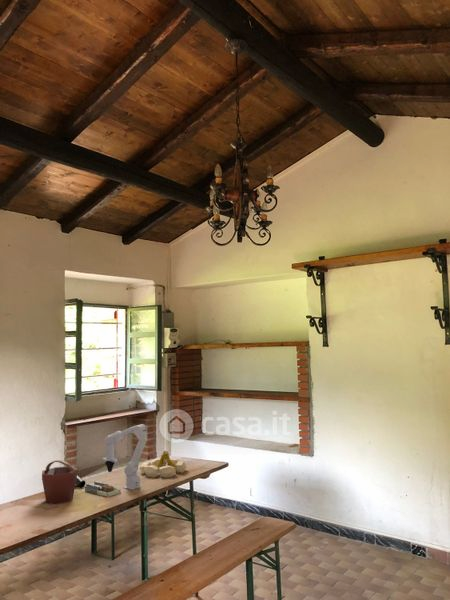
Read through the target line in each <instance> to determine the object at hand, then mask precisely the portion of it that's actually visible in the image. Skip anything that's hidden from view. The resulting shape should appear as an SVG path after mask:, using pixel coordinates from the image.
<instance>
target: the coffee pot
mask: <svg viewBox="0 0 450 600" xmlns="http://www.w3.org/2000/svg"><path fill="white" fill-rule="evenodd" d="M85 486H86V480H83V479H82V478H81V476H80V475H77V480H76V485H75V488H76V487H79V488H85Z"/></svg>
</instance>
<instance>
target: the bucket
mask: <svg viewBox="0 0 450 600" xmlns="http://www.w3.org/2000/svg"><path fill="white" fill-rule="evenodd" d="M54 463H59V464H62V465H64V466H56V467H55V466H54V467H52V468H51V466H52V465H53V464H54ZM78 474H79V469H78V468H76V467H74V466H73V465H71V464H70V463H69V462H66V461H64V460H60V459H59V460H58V459H57V460H53V461H51V462H49V463H47V465H46V467H45V470H42V472H41V481H42V485H43V493H44V498H45V503H46V504H51V505H57V504H58V505H59V504H63V503H68V502H69V501H71V500H73V499H74V494H75V489H76V487H75V485H76V480H77V476H79V475H78Z"/></svg>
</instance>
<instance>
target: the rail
mask: <svg viewBox="0 0 450 600" xmlns="http://www.w3.org/2000/svg"><path fill="white" fill-rule="evenodd" d="M104 485H109V484H108V483H105V482H100V481H96V480H95V481H94V482H93V483H92V484H91V483H89V482H88V483H85V486H84V491H85V492H87V493H91V494H95V493H96V495H97V490H98V491H101V486H104Z"/></svg>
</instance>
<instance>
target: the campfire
mask: <svg viewBox="0 0 450 600" xmlns="http://www.w3.org/2000/svg"><path fill="white" fill-rule="evenodd" d="M187 467H188V466H187V464H186V462H185V461H180V459H179V458H170V454H169V451H168V450H164V451H163V452H162V453H161V454H160V457H159V458H155V459H153V460H152V461H150V462H148V461H147V462H143V463H142V464H141V466H140V468H139V470H140V472H141V474H142V475H145V476H146V477H147V478H155V477H159V475H160V476H161V477H162V478H173V477H174V476H175V475H177V473H178V474H180V473H181V474H182V473H184V472H185V471H186V468H187Z"/></svg>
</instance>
